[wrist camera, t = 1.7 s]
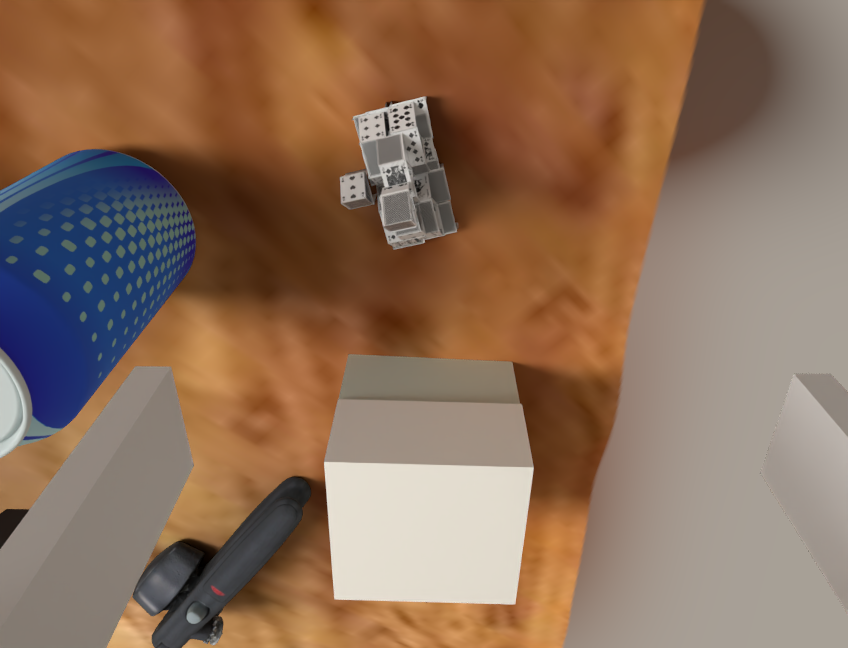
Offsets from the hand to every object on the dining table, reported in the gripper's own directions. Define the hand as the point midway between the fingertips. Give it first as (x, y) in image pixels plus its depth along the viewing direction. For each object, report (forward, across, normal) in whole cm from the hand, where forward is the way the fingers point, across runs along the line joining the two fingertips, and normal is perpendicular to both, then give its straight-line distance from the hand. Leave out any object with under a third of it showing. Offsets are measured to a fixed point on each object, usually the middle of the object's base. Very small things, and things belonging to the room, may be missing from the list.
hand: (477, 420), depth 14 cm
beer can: (+22, -18, -4) cm, 29 cm away
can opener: (+22, -16, -29) cm, 40 cm away
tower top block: (+17, -1, -17) cm, 25 cm away
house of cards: (+23, -5, -1) cm, 23 cm away
